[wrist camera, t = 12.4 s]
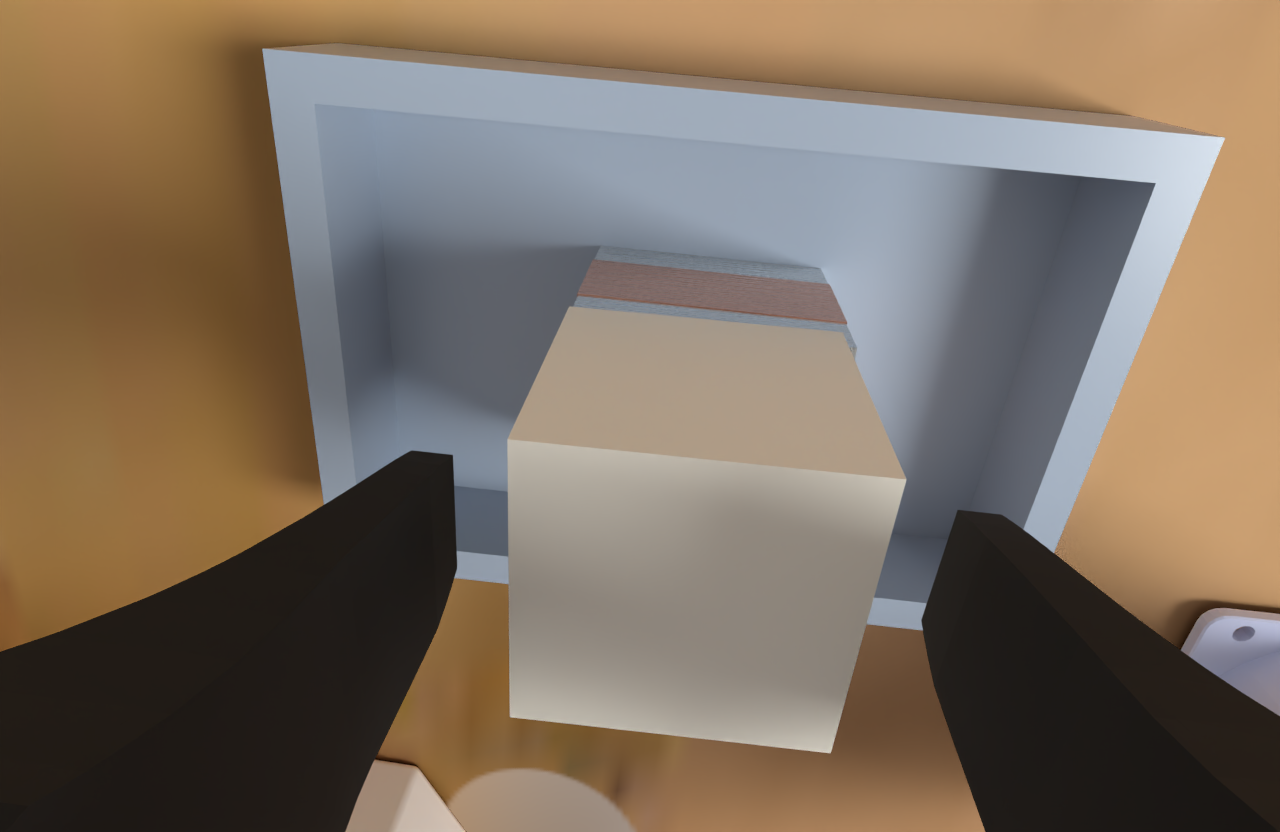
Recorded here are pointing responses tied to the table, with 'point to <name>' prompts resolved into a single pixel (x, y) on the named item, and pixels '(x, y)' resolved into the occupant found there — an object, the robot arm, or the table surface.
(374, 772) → the jar
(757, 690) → the white cube
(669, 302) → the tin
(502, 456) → the tote
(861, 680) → the table surface
